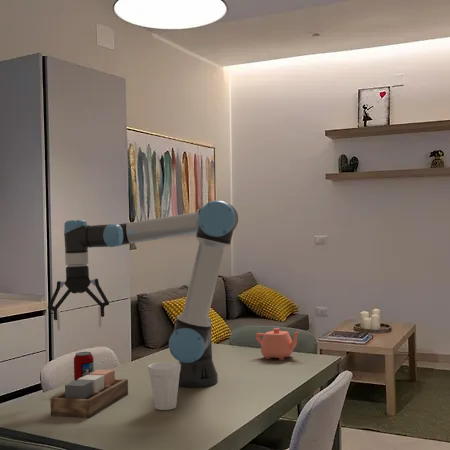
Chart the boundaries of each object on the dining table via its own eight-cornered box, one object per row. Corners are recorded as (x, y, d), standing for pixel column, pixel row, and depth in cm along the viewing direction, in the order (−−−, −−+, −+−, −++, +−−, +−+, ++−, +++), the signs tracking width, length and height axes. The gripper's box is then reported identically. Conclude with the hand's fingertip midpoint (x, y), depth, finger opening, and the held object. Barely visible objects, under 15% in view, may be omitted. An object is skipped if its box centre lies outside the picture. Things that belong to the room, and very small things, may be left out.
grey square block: (92, 394, 188) (92, 381, 188) (83, 399, 183) (82, 386, 183) (75, 393, 190) (75, 380, 190) (65, 398, 184) (64, 385, 184)
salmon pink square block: (114, 382, 203) (114, 370, 203) (106, 386, 197) (106, 374, 197) (98, 381, 204) (98, 369, 204) (89, 386, 199) (89, 373, 199)
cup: (169, 414, 180) (167, 370, 180) (142, 410, 185) (141, 367, 185) (188, 406, 188) (187, 363, 188) (162, 402, 193) (161, 360, 194)
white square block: (104, 387, 195) (103, 375, 196) (95, 392, 190) (94, 379, 190) (87, 387, 197) (86, 374, 197) (77, 392, 191) (77, 379, 191)
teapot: (297, 362, 245) (296, 332, 245) (250, 359, 253) (249, 330, 253) (307, 356, 257) (306, 326, 257) (262, 353, 265) (261, 325, 265)
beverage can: (89, 390, 211) (88, 355, 211) (71, 389, 213) (70, 355, 213) (97, 385, 218) (96, 351, 218) (79, 384, 219) (78, 351, 219)
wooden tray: (128, 394, 204) (127, 379, 204) (90, 417, 179) (89, 400, 179) (92, 392, 208) (92, 377, 208) (50, 415, 183) (50, 398, 183)
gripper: (113, 263, 215) (116, 323, 215) (39, 267, 210) (42, 329, 209) (114, 264, 208) (117, 326, 207) (37, 268, 202) (40, 332, 202)
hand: (79, 328), depth 208 cm, fingers open, 13 cm apart
